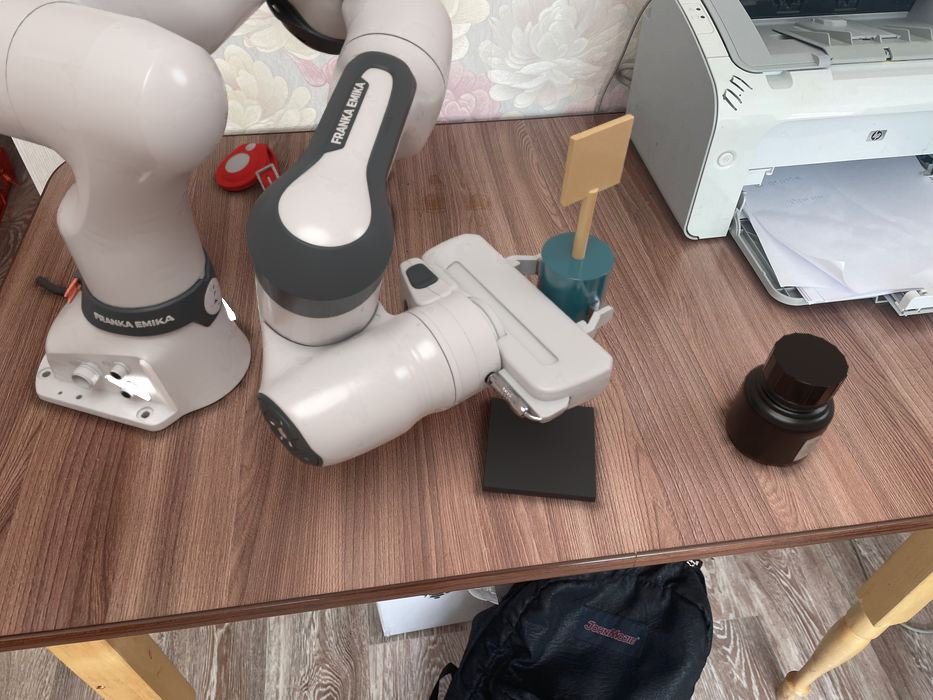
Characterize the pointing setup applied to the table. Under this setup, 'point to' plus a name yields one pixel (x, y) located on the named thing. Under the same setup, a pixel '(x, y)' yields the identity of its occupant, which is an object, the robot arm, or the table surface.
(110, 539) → the table surface
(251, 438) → the table surface
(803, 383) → the ink bottle
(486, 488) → the plate
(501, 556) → the table surface
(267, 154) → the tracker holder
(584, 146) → the spatula crock
